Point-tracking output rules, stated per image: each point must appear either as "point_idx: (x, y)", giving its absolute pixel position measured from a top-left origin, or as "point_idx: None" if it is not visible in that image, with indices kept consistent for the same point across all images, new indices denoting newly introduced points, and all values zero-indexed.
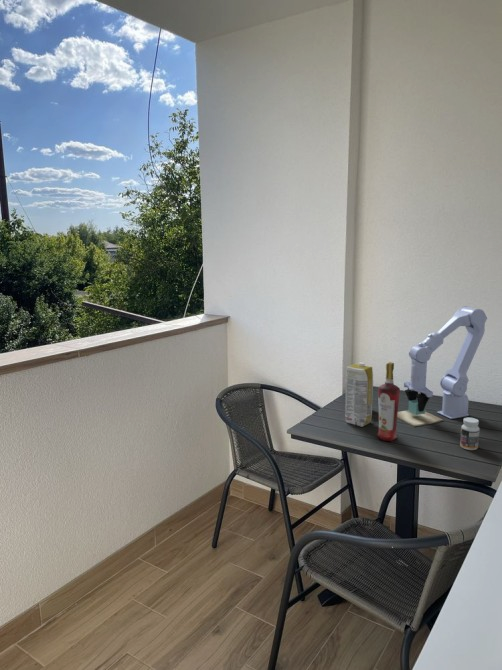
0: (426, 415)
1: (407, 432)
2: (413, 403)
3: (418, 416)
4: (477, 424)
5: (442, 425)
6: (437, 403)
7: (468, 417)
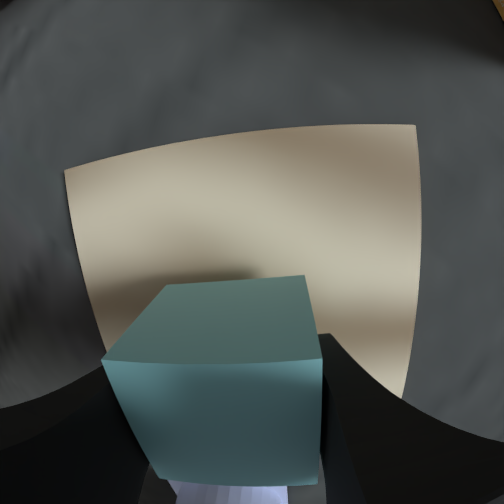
0: None
1: (21, 80)
2: (170, 357)
3: None
4: None
5: (78, 373)
6: None
7: None
